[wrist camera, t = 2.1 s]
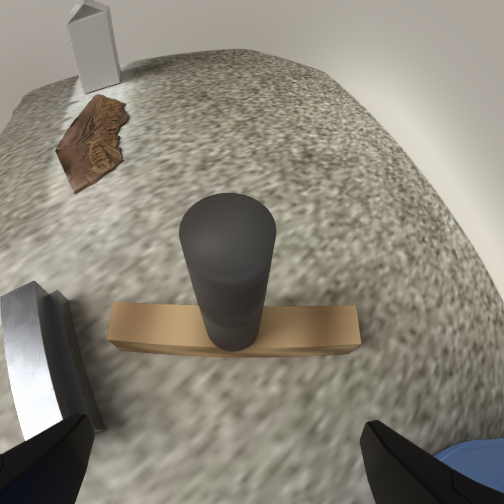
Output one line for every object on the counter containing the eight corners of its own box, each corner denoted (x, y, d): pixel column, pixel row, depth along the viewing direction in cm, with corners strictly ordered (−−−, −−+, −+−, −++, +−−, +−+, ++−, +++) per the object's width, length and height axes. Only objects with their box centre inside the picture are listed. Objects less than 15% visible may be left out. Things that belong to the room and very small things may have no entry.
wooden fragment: (122, 184, 32) (120, 177, 31) (41, 205, 30) (38, 200, 29) (133, 87, 45) (132, 82, 44) (76, 103, 44) (75, 98, 43)
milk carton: (120, 71, 49) (107, -12, 33) (120, 83, 46) (103, -8, 30) (87, 81, 48) (70, 0, 32) (84, 95, 44) (62, 5, 28)
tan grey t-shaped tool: (343, 316, 24) (424, 203, 13) (348, 357, 23) (449, 270, 11) (126, 312, 24) (44, 199, 12) (120, 354, 22) (17, 264, 10)
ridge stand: (105, 430, 18) (78, 427, 14) (48, 446, 17) (16, 444, 13) (67, 299, 24) (43, 275, 20) (20, 321, 22) (-8, 300, 18)
